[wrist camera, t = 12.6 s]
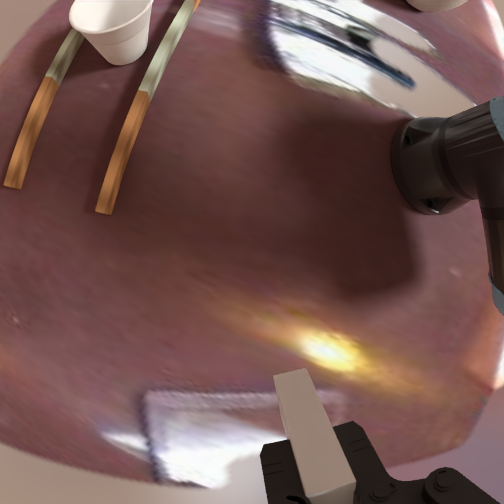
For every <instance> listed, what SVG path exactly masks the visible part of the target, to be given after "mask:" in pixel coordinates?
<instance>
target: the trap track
mask: <svg viewBox="0 0 504 504" xmlns="http://www.w3.org/2000/svg"><path fill="white" fill-rule="evenodd" d="M200 1H201V0H185V1H184V3H183V5H182V6H181V8H180V10H179V11H178V13H177V15H176V17H175V18H174V20H173V22H172V24H171V25H170V27H169V29H168V31H167V33H166V34H165V36H164V38H163V40H162V42H161V44H160V46H159V48H158V50H157V51H156V53H155V55H154V57H153V59H152V61H151V64H150V66H149V68H148V70H147V72H146V74H145V76H144V78H143V80H142V83H141V85H140V87H139V89H138V91H137V94H136V96H135V98H134V101H133V103H132V105H131V108H130V110H129V113H128V115H127V118H126V120H125V123H124V125H123V128H122V130H121V133H120V136H119V138H118V141H117V144H116V146H115V149H114V152H113V155H112V158H111V161H110V164H109V167H108V170H107V173H106V176H105V179H104V182H103V185H102V189H101V192H100V195H99V199H98V202H97V206H96V209H95V211H96V212H100V213H103V214H107V215H111V214H112V211H113V207H114V204H115V200H116V197H117V194H118V190H119V187H120V184H121V181H122V178H123V174H124V171H125V168H126V165H127V162H128V159H129V157H130V154H131V151H132V148H133V145H134V142H135V140H136V137H137V134H138V132H139V129H140V126H141V124H142V121H143V119H144V116H145V114H146V111H147V109H148V106H149V104H150V101H151V99H152V97H153V94H154V92H155V90H156V87H157V85H158V83H159V81H160V78H161V76H162V74H163V72H164V70H165V68H166V65H167V63H168V61H169V59H170V57H171V55H172V53H173V51H174V49H175V47H176V45H177V43H178V41H179V39H180V37H181V35H182V33H183V31H184V29H185V28H186V26H187V24H188V22H189V20H190V18H191V17H192V15H193V13H194V11H195V9H196V8H197V6H198V4H199V3H200ZM84 39H85V37H84V36H83V35H82V34H81V32H79V31H77V30H75V29H74V28H72V29H71V31H70V32H69V34H68V36H67V37H66V39H65V41H64V42H63V44H62V46H61V47H60V49H59V51H58V53H57V55H56V56H55V58H54V60H53V62H52V64H51V66H50V67H49V69H48V71H47V73H46V75H45V77H44V79H43V81H42V83H41V85H40V88H39V90H38V92H37V94H36V96H35V98H34V101H33V103H32V105H31V108H30V110H29V112H28V115H27V117H26V120H25V122H24V125H23V127H22V130H21V132H20V135H19V138H18V141H17V143H16V146H15V149H14V152H13V155H12V158H11V161H10V164H9V168H8V171H7V174H6V178H5V181H4V185H5V186H8V187H12V188H16V189H20V190H21V188H22V184H23V181H24V177H25V174H26V171H27V167H28V164H29V161H30V158H31V155H32V152H33V149H34V146H35V144H36V141H37V138H38V135H39V133H40V130H41V128H42V125H43V122H44V120H45V118H46V115H47V113H48V110H49V108H50V106H51V103H52V101H53V99H54V97H55V94H56V92H57V90H58V88H59V86H60V84H61V82H62V80H63V78H64V76H65V74H66V72H67V70H68V68H69V66H70V64H71V62H72V60H73V58H74V57H75V55H76V53H77V51H78V49H79V48H80V46H81V44H82V42H83V41H84Z"/></svg>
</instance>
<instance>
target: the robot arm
mask: <svg viewBox="0 0 504 504" xmlns="http://www.w3.org/2000/svg"><path fill="white" fill-rule="evenodd" d="M391 163H392V169H393V174H394V177H395V180H396V183H397V185H398V187H399V189H400V191H401V193H402V194H403V196H404V197H405V199H406V200H407V201H408V202H409V203H410V204H411V205H412V206H413V207H414V208H415V209H417V210H418V211H420V212H422V213H424V214H428V215H443V214H448V213H450V212H453V211H454V210H456V209H457V208H459V207H461V206H462V205H464V204H466V203H467V202H469V201H471V200H475V199H479V204H480V209H481V214H482V220H483V225H484V231H485V238H486V245H487V253H488V263H489V280H490V283H491V288H492V297H493V301H494V304H495V306H496V307H497V308H498V310H499V312H500V313H501V314H502V315H503V316H504V96H502V97H500V96H497V97H494V98H493V99H492V100H491V101H488V102H486V103H483V104H481V105H478V106H476V107H473V108H471V109H468V110H466V111H463V112H461V113H459V114H456V115H454V116H451V117H449V118H441V117H419V118H416V119H413V120H411V121H409V122H407V123H405V124H404V125H402V126H401V127H400V128H399V130H398V131H397V133H396V134H395V136H394V139H393V142H392V148H391ZM273 378H274V383H275V388H276V393H277V398H278V403H279V408H280V413H281V418H282V422H283V425H284V429H285V433H286V437H287V440H283V441H279V442H274V443H269V444H264V445H263V448H262V451H261V454H260V458H261V464H262V470H263V476H264V482H265V487H266V493H267V499H268V504H500V503H499V502H497V501H496V500H495V499H493V498H492V497H491V496H489V495H488V494H487V493H486V492H484V491H483V490H481V489H480V488H479V487H477V486H476V485H475V484H474V483H472V482H471V481H470V480H469V479H467V478H466V477H465V476H463V475H462V474H461V473H460V472H458V471H457V470H455V469H453V468H447V467H444V468H439V469H436V470H435V471H433V472H431V473H430V474H429V476H428V477H427V478H425V479H419V480H413V481H399V480H396V479H394V478H392V477H390V475H389V474H388V473H387V472H386V470H385V468H384V466H383V464H382V463H381V461H380V459H379V457H378V455H377V453H376V452H375V450H374V448H373V446H372V444H371V442H370V441H369V439H368V437H367V435H366V433H365V431H364V430H363V428H362V427H361V426H359V425H358V424H357V423H355V422H354V421H351V422H348V423H344V424H341V425H338V426H335V427H332V425H331V423H330V421H329V419H328V416H327V414H326V412H325V410H324V407H323V405H322V403H321V401H320V398H319V396H318V394H317V392H316V389H315V387H314V385H313V383H312V380H311V378H310V376H309V374H308V371H307V369H306V368H303V369H299V370H295V371H291V372H287V373H282V374H278V375H274V376H273Z"/></svg>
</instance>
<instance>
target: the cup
mask: <svg viewBox="0 0 504 504" xmlns="http://www.w3.org/2000/svg"><path fill="white" fill-rule="evenodd" d="M153 1H154V0H75V1H74V3H73V4H72V7H71V9H70V13H69V21H70V23H71V25H72V27H73V28H74V29H75V30H77V31H79V32H81V34H82V35H83V36H84V37H85V38H86V39H87V40H88V41H89V42H90V43H91V44H92V45H93V46H94V47H95V48H96V49H97V50H98V52H99V53H100V54H101V55H102V56H103V57H104V58H105V59H106V60H107V61H108V62H109V63H111V64H114V65H125V64H129V63H132V62H134V61H135V60H137V59H138V58H140V57H141V56H142V55H143V53H144V52H145V50H146V48H147V41H148V31H149V22H150V14H151V7H152V3H153Z"/></svg>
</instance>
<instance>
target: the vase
mask: <svg viewBox="0 0 504 504" xmlns="http://www.w3.org/2000/svg"><path fill="white" fill-rule="evenodd" d="M406 1H407V2H408V3H409V4H410V5H411V6H413V7H414V8H416V9H418V10H420V11H423V12H441V11H446V10H450V9H453V8H456V7H458V6H460V5H462V4H463V3H465V2H466V1H468V0H406Z"/></svg>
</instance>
